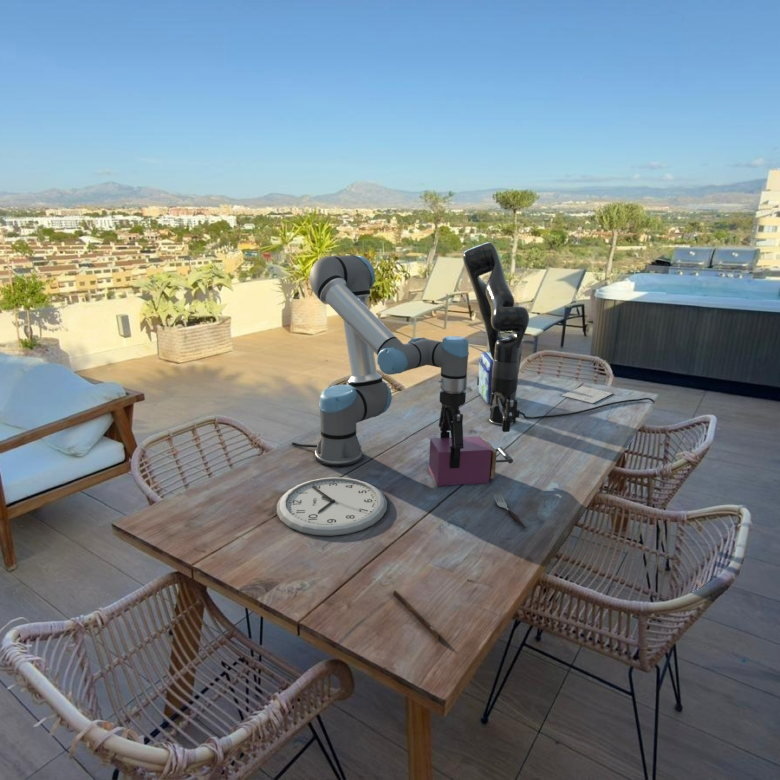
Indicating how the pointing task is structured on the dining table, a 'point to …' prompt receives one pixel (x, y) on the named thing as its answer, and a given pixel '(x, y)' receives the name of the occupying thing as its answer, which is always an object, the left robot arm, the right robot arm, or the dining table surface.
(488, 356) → the lunch box
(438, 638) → the brown thin rod
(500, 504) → the fork
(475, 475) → the magenta rectangular box
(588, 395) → the invitation card
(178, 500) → the dining table surface
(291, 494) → the wall clock
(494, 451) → the drawer
